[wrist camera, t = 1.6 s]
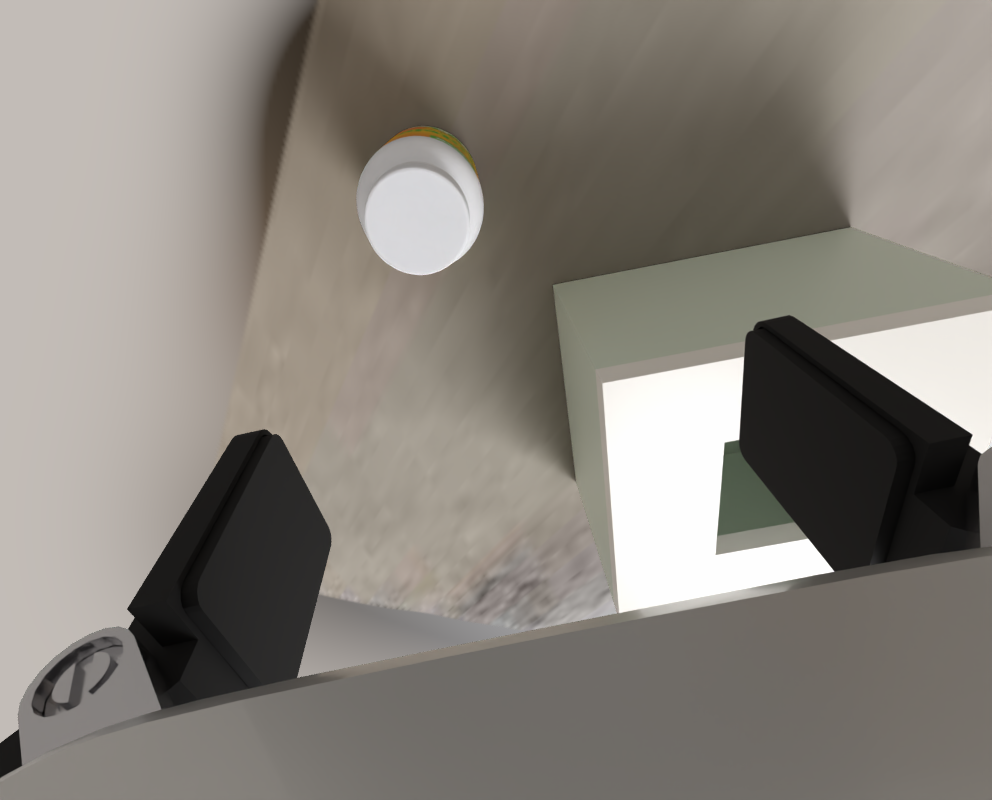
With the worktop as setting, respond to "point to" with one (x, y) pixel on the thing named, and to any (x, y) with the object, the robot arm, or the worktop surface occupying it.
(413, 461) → the worktop surface
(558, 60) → the worktop surface
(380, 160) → the supplement bottle
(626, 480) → the caddy
